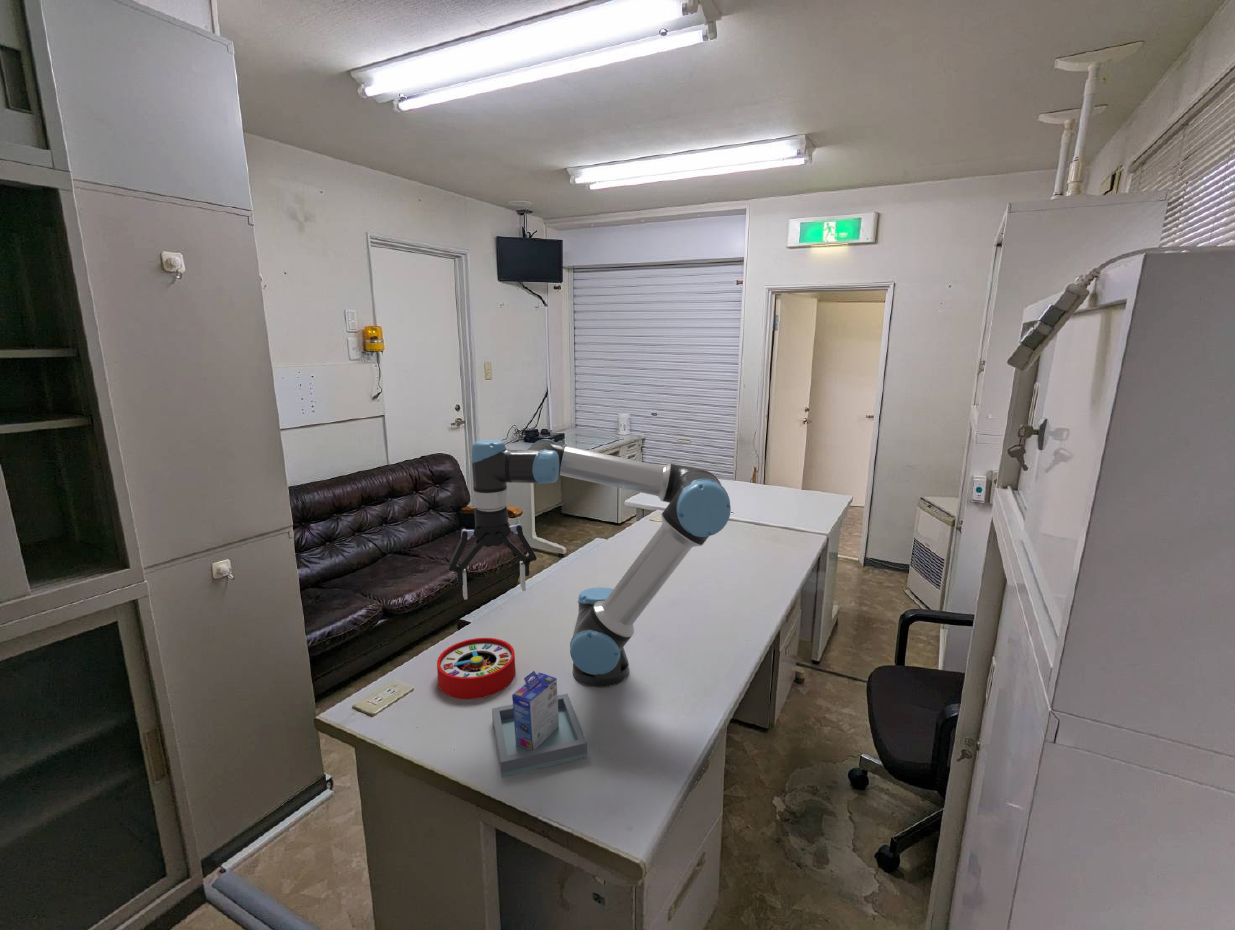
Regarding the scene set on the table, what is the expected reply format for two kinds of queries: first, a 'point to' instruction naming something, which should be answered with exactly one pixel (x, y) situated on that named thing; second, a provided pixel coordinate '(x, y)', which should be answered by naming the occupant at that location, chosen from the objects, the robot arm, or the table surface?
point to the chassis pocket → (554, 750)
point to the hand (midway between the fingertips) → (494, 592)
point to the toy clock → (476, 668)
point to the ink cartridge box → (535, 710)
